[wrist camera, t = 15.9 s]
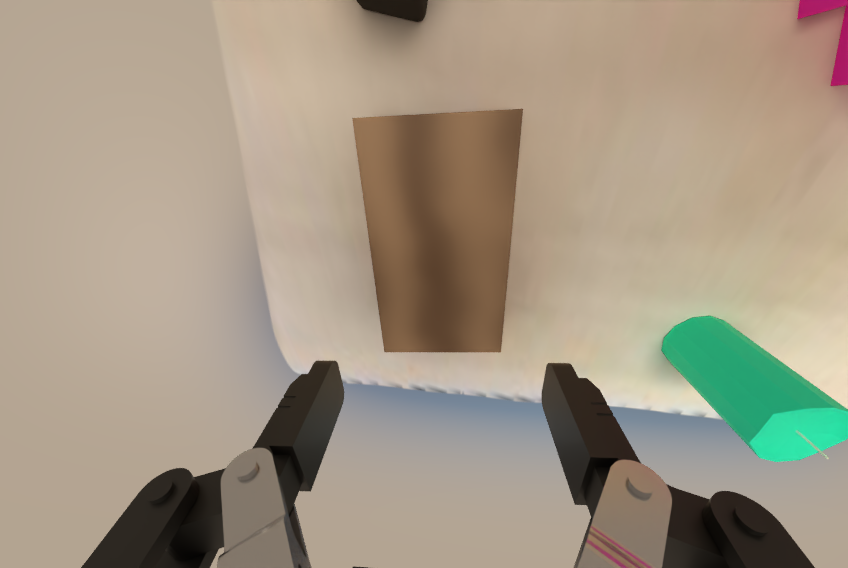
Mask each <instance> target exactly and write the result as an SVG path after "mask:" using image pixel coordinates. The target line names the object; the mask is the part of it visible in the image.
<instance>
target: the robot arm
mask: <svg viewBox="0 0 848 568" xmlns="http://www.w3.org/2000/svg"><path fill="white" fill-rule="evenodd" d="M343 400H344V388H343V383H342V379H341V375H340V371H339V367H338V363H337V362H336V361H316V362H315V363H314V364H313V366H312V368H311V370H310V371H309V373H308V374H301V375H300V376H299V377H298V378H297V379H296V380H295V381H294V382H293V383H292V384H291V385H290V386H289V388H288V390H287V391H286V393H285V395H284V398H283V399H282V400H281V402H280V403H279V405H278V408H276V410H275V412H274V413H273V415H272V417H271V419H270V420H269V422H268V424H267V425H266V427H265V429H264V430H263V432H262V434H261V436H260V437H259V439H258V440H257V442H256V444H255V446H254V447H253V448H252V449H250V450H247V451H245V452H243V453H242V454H240V455H239V456H237V457H236V458H235V459H234V460H233V461H232V462H231V463H230V464H229V465H228V466H227V468H225V469H222V470H218V471H215V472H211V473H208V474H205V475H201V476H197V477H193V475H192V474H191V473H190V471H189V470H187V469H184V468H176V469H172V470H169V471H167V472H165V473H162V474H161V475H159V476H157V477H156V478H154V479H153V480H152V481H150V482H149V483H148V484H147V485H146V486H145V487H144V488H143V489H142V490H141V491H140V492H139V493H138V495H137V496H136V498H135V499H134V500H133V501H132V502H131V504H130V505H129V507H128V508H127V509H126V510H125V512H124V513H123V514H122V515H121V517H120V518H119V519H118V521H117V522H116V523H115V525H114V526H113V527H112V528H111V530H110V531H109V532H108V534H107V535H106V536H105V538H104V539H103V540H102V541H101V543H100V544H99V545H98V547H97V548H96V549H95V550H94V552H93V553H92V554H91V556H90V557H89V558H88V560H87V561H86V562H85V563H84V565H83V566H82V567H81V568H210V566H211V563H212V562H213V560H214V558H215V556H216V554H217V551H218V549H219V548H222V547H224V553H223V554H222V555H220V556H219V558H218V563H217V568H311V565H310V562H309V558H308V554H307V550H306V546H305V542H304V538H303V534H302V531H301V526H300V523H299V519H298V515H297V511H296V507H295V504H294V502H295V500H296V497H297V495H298V492H299V491H311V489H312V486H313V484H314V481H315V478H316V475H317V473H318V470H319V467H320V464H321V462H322V459H323V456H324V454H325V451H326V448H327V445H328V443H329V440H330V437H331V435H332V432H333V429H334V426H335V424H336V421H337V418H338V415H339V413H340V410H341V407H342V404H343ZM542 405H543V409H544V412H545V416H546V419H547V422H548V425H549V428H550V431H551V434H552V437H553V440H554V443H555V446H556V448H557V452H558V455H559V458H560V461H561V464H562V467H563V470H564V473H565V476H566V479H567V482H568V485H569V488H570V491H571V494H572V497H573V500H574V503H575V505H587V506H588V509H589V512H590V515H591V519H590V522H589V525H588V528H587V530H586V533H585V536H584V539H583V543H582V545H581V548H580V551H579V554H578V557H577V559H576V562H575V565H574V568H815V567H814V566H813V565H812V563H811V562H810V561H809V560H808V558H807V557H806V556H805V554H804V553H803V552H802V551H801V549H800V548H799V547H798V545H797V544H796V543H795V541H794V540H793V539H792V537H791V536H790V535H789V534H788V532H787V531H786V530H785V529H784V527H783V526H782V525H781V523H780V522H779V521H778V520H777V519H776V518H775V517H774V516H773V515H772V514H771V513H770V512H769V511H767V510H766V509H765V508H763V507H762V506H761V505H759V504H758V503H756V502H755V501H753V500H751V499H749V498H747V497H745V496H743V495H741V494H738V493H734V492H730V491H720V492H717V493H715V494H714V495H713V496H712V497H711V499H706V498H703V497H700V496H697V495H694V494H691V493H688V492H685V491H682V490H679V489H676V488H674V487H671V486H669V485H667V484H665V482H664V481H663V480H662V479H661V478H660V477H659V475H657V474H656V473H655V472H654V471H653V470H651V469H650V468H648V467H647V466H645V465H643V464H641V462H640V461H639V459H638V458H637V456H636V454H635V452H634V450H633V449H632V447H631V445H630V444H629V442H628V440H627V438H626V436H625V434H624V433H623V431H622V429H621V427H620V426H619V424H618V422H617V420H616V418H615V417H614V416H613V413H612V411H611V410H610V408H609V406H608V405H607V402H606V401H605V399H604V397H603V395H602V393H601V392H600V390H599V389H598V388H597V387H596V386H595V385H594V384H593V383H592V382H590V381H589V380H588V379H587V378H578V376H577V374H576V372H575V370H574V369H573V367H572V365H571V364H569V363H548V364H547V367H546V372H545V378H544V383H543V389H542ZM353 568H366V567H353Z"/></svg>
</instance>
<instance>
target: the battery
mask: <svg viewBox="0 0 848 568" xmlns="http://www.w3.org/2000/svg"><path fill="white" fill-rule="evenodd" d="M427 1H428V0H357V2H358V3H359V4H360V6H361V7H362V8H364V9H367V10H371V11H376V12H380V13H384V14H388V15H392V16H396V17H400V18H405V19H409V20H413V21H421V20H422V19H423V18H424V16H425V13H426V8H427Z"/></svg>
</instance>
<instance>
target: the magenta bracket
mask: <svg viewBox="0 0 848 568" xmlns="http://www.w3.org/2000/svg"><path fill="white" fill-rule="evenodd" d="M842 6H846V8H845V13H844V18H843V24H842V29H841V34H840V39H839V45H838V50H837V55H836V60H835V66H834V71H833V76H832V81H831V86H837V85H848V0H800V3H799V11H798V18H797V19H800V18H804V17H807V16H811V15H814V14H818V13H821V12H825V11H828V10H832V9H835V8H839V7H842Z"/></svg>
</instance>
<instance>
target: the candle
mask: <svg viewBox="0 0 848 568" xmlns="http://www.w3.org/2000/svg"><path fill="white" fill-rule="evenodd" d="M662 352H663V353H664V355H665V356H666V358H667V359H668V360H669V361H670V363H671V364H672V365H673V366H674V367H675V368H676V369H677V370H678V371H679V372H680V373H681V374H682V375H683V376H684V378H685V379H686V380H687V381H688V382H689V383H690V384H691V385H692V386H693V387H694V388H695V389H696V390H697V391H698V393H699V394H700V395H701V396H702V397H703V398H704V399H705V400H706V401H707V402H708V403H709V404H710V405H711V406H712V408H713V409H714V410H715V411H716V412H717V413H718V414H719V415H720V416H721V417H722V418H723V419H724V420H725V421H726V423H727V424H729V426H730V427H731V428H732V429H733V430H734V431H735V432H736V433H737V434H738V435H739V436H740V437H741V439H742V440H744V442H745V443H746V444H747V445H748V446H749V447H750V448H751V449H752V450H753V451H754V452H755V454H756V455H757V456H758V457H759V458H762V459H766V460H770V461H774V462H780V461H793V460H801V459H803V458H806V457H808V456H810V455H813V454H815V453H818V452H820V454H822V455H823V456H824V457H825V458H826V459H829V458H828V456H826V455H825V454H824V453H823V452H822V451H823V450H825V449H827V448H829V447H832V446H834V445H835V444H838V443H840V442H842V441H844V440H846V439H848V409H846V408H845V407H843V406H842V405H841V404H839V403H838V402H836V401H835V400H834V399H832V398H831V397H829V396H828V395H827V394H825V393H824V392H823V391H821V390H820V389H818V388H817V387H816V386H814V385H813V384H811V383H810V382H809V381H807V380H806V379H804V378H803V377H802V376H800V375H799V374H797V373H796V372H795V371H793V370H792V369H790V368H789V367H788V366H786V365H785V364H783V363H782V362H781V361H779V360H778V359H777V358H775V357H774V356H772V355H771V354H770V353H768V352H767V351H765V350H764V349H763V348H761V347H760V346H758V345H757V344H756V343H754V342H753V341H751V340H750V339H749V338H747V337H746V336H744V335H743V334H742V333H740V332H739V331H738V330H736V329H735V328H733V327H732V326H731V325H729V324H728V323H726V322H725V321H723V320H721V319H718V318H715V317H712V316H703V317H695V318H691V319H688V320H686V321H684V322H682V323H680V324H678V325H676V326H675V327H674V328H673V329H672V330H671V331H670V332H669V333H668V334H667V335H666V336H665V337H664V340H663V345H662Z"/></svg>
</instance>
